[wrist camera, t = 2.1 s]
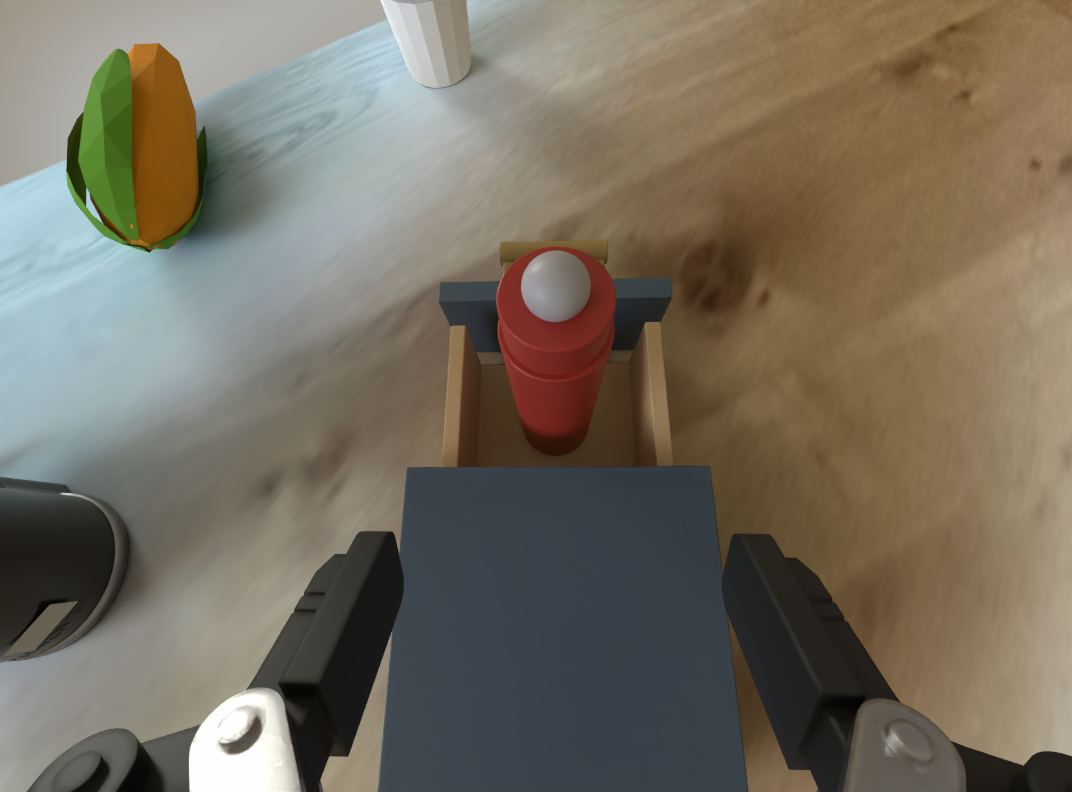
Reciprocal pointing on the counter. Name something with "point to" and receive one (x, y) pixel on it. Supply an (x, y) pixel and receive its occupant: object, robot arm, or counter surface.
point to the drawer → (623, 400)
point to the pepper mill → (556, 342)
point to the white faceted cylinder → (432, 39)
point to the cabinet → (561, 634)
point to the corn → (139, 150)
